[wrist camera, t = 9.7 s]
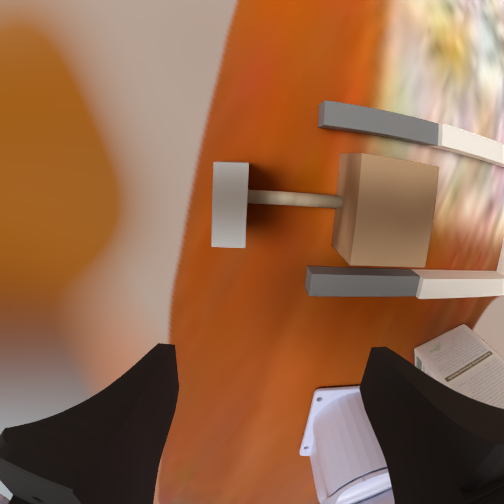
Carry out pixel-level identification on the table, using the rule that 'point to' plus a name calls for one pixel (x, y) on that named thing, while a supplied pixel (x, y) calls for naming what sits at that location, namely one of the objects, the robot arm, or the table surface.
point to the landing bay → (369, 279)
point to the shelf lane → (500, 280)
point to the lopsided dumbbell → (345, 208)
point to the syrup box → (464, 365)
